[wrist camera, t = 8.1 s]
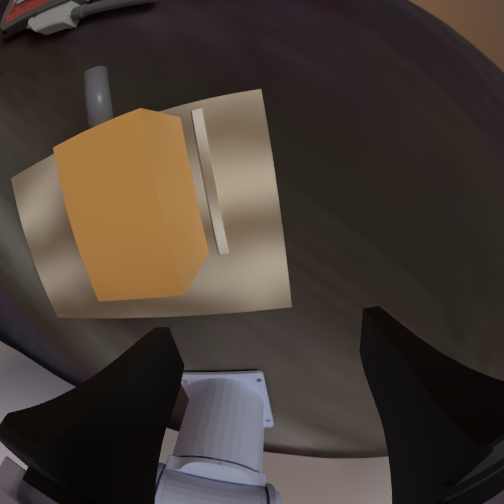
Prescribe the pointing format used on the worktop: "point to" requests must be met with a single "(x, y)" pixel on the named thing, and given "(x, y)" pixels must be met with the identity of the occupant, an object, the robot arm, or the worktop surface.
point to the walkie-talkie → (54, 14)
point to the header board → (212, 215)
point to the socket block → (131, 199)
